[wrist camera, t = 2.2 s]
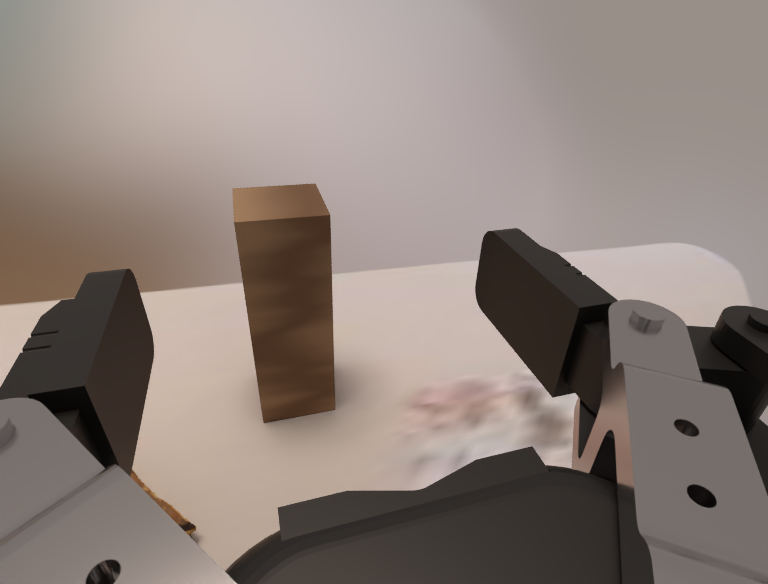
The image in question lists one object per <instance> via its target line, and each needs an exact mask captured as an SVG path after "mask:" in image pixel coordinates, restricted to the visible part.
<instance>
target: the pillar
mask: <svg viewBox="0 0 768 584" xmlns="http://www.w3.org/2000/svg"><path fill="white" fill-rule="evenodd" d="M233 209H234V225H235V232H236V238H237V245H238V252H239V258H240V266H241V272H242V279H243V286H244V293H245V300H246V306H247V313H248V320H249V327H250V334H251V340H252V347H253V354H254V361H255V368H256V374H257V381H258V388H259V395H260V402H261V408H262V415H263V422H264V423H266V422H271V421H276V420H282V419H287V418H292V417H298V416H303V415H309V414H314V413H319V412H325V411H330V410H335V385H334V346H333V306H332V267H331V228H330V214H329V212H328V209H327V207H326V205H325V203H324V201H323V199H322V197H321V194H320V193H319V190H318V188H317V186H316V184H302V185H285V186H268V187H252V188H235V189H233Z"/></svg>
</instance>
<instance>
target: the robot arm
mask: <svg viewBox="0 0 768 584" xmlns="http://www.w3.org/2000/svg"><path fill="white" fill-rule="evenodd" d="M475 291H476V299H477V302H478V305H479V307H480V309H481V310H482V311H483V313H484V314H485V315H486V316H487V318H488V319H489V320H490V321H491V323H492V324H493V325H494V326H495V327H496V329H497V330H498V331H499V332H500V334H501V335H502V336H503V337H504V338H505V340H506V341H507V342H508V343H509V345H510V346H511V347H512V348H513V349H514V351H515V352H516V353H517V354H518V356H519V357H520V358H521V359H522V360H523V362H524V363H525V364H526V365H527V367H528V368H529V369H530V370H531V371H532V373H533V374H534V375H535V376H536V378H537V379H538V380H539V381H540V383H541V384H542V385H543V386H544V387H545V389H546V390H547V391H548V392H549V394H550V395H551V396H552V397H557V396H562V395H566V394H571V393H576V394H577V395H578V400H577V402H576V405H575V410H574V430H573V452H572V469H570V468H565V467H557V466H548V465H545V464H544V463H543V461H542V460H541V458H540V457H539V455H538V454H537V453H536V451H535V450H534V448H533V447H528V448H523V449H519V450H515V451H511V452H507V453H503V454H498V455H494V456H490V457H486V458H482V459H478V460H475V461H473V462H471V463H470V464H468V465H466V466H464V467H462V468H461V469H459V470H457V471H455V472H453V473H452V474H450V475H448V476H446V477H444V478H442V479H441V480H439V481H437V482H435V483H433V484H432V485H430V486H428V487H426V488H424V489H421V490H414V491H345V492H341V493H336V494H332V495H328V496H324V497H320V498H316V499H312V500H307V501H303V502H299V503H295V504H291V505H287V506H282V507H278V514H279V523H280V530H279V531H278V532H276V533H274V534H272V535H270V536H268V537H267V538H265V539H264V540H262V541H261V542H259V543H258V544H256V545H255V546H253V547H252V548H250V549H249V550H248V551H247V552H245V553H244V554H243V555H242V556H241V557H240V558H238V559H237V560H236V561H235V562H234V563H233V564H232V565H231V566H230V567H229V568H228V569H227V570H226V571H224V570H223V569H222V568H221V567H220V566H219V565H218V564H217V563H216V562H215V561H214V560H213V559H212V558H211V557H210V556H209V555H208V554H207V553H206V552H205V551H204V550H203V549H202V548H201V547H200V546H199V545H198V544H197V543H196V542H195V541H194V540H193V539H192V538H191V537H190V536H189V535H188V534H187V533H186V532H185V531H184V530H183V529H182V528H181V527H180V526H179V525H178V524H177V523H176V522H175V521H174V520H173V519H172V518H171V517H170V516H169V515H168V514H167V513H166V512H165V511H164V510H163V509H162V508H161V507H160V506H159V505H158V504H157V503H156V502H155V501H154V500H153V499H152V498H151V497H150V496H149V495H148V494H147V493H146V492H145V491H144V490H143V489H142V488H141V487H140V486H139V485H138V484H137V483H136V482H135V481H134V480H133V479H132V478H131V477H130V476H131V471H132V465H133V460H134V455H135V450H136V445H137V440H138V435H139V430H140V425H141V420H142V414H143V409H144V404H145V399H146V394H147V389H148V384H149V379H150V374H151V369H152V363H153V358H154V344H153V336H152V332H151V328H150V325H149V321H148V318H147V315H146V311H145V308H144V305H143V302H142V298H141V295H140V292H139V289H138V285H137V282H136V279H135V277H134V274H133V273H132V271H131V270H130V269H122V270H113V271H103V272H93V273H88V274H87V275H86V277H85V279H84V281H83V283H82V285H81V287H80V289H79V291H78V293H77V295H76V297H75V299H69V300H61V301H60V302H59V303H58V304H56V305H55V306H54V307H53V308H51V309H50V310H49V311H47V312H46V313H45V314H44V315H42V316H41V317H40V319H39V321H38V323H37V324H36V326H35V328H34V330H33V331H32V333H31V338H28V340H27V342H26V344H25V345H24V347H23V349H22V350H23V353H20V354H19V356H18V358H17V359H16V361H15V363H14V365H13V366H12V368H11V370H10V372H9V373H8V375H7V377H6V379H5V380H4V382H3V384H2V386H1V387H0V584H768V426H767V425H766V424H765V423H763V422H762V421H761V420H760V419H759V418H760V416H761V415H762V413H763V412H764V410H765V408H766V407H767V405H768V311H767V310H763V309H759V308H755V307H749V306H731V307H728V308H725V309H724V310H723V312H722V313H721V315H720V317H719V319H718V321H717V323H716V325H715V327H697V326H686V324H685V323H684V322H683V320H682V319H681V318H680V317H679V316H677V315H676V314H675V313H673V312H671V311H670V310H668V309H666V308H664V307H661V306H659V305H656V304H653V303H650V302H645V301H640V300H620V301H618V300H617V299H615V298H614V297H613V296H611V295H610V294H609V293H608V292H606V291H605V290H604V289H602V288H601V287H600V286H599V285H597V284H596V283H595V282H593V281H592V280H591V279H590V278H588V277H587V276H586V275H582V272H580V271H579V270H578V269H577V268H575V267H574V266H571V264H570V263H569V262H568V261H566V260H565V259H564V258H562V257H561V256H560V255H559V254H557V253H555V252H553V251H551V250H548V249H546V248H543V247H541V246H540V245H538V244H537V243H536V242H535V241H534V240H532V239H531V238H530V237H529V236H527V235H526V234H525V233H523V232H522V231H521V230H519V229H517V228H514V229H504V230H496V231H488V232H487V233H486V234H485V235H484V237H483V242H482V247H481V254H480V260H479V266H478V273H477V280H476V287H475Z"/></svg>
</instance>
